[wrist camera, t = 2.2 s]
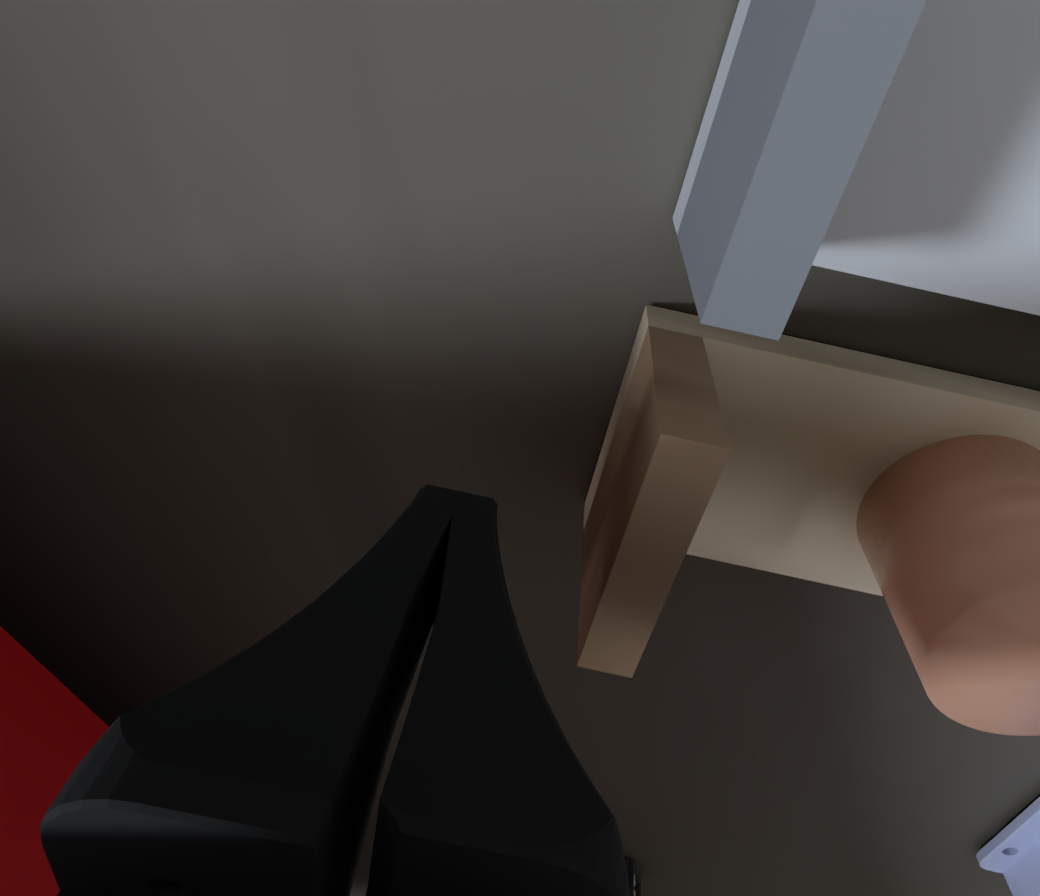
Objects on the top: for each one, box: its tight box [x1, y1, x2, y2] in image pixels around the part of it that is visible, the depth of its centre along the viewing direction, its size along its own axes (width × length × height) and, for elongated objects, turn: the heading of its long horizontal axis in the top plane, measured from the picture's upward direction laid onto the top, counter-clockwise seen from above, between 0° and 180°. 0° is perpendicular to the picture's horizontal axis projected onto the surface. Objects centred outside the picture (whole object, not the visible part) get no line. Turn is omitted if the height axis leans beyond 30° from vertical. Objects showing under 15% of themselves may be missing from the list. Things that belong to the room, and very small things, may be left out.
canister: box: [856, 435, 1040, 736], centre depth 15 cm, size 4×4×4 cm
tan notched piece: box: [577, 305, 1040, 678], centre depth 16 cm, size 6×12×6 cm, turn 79°
